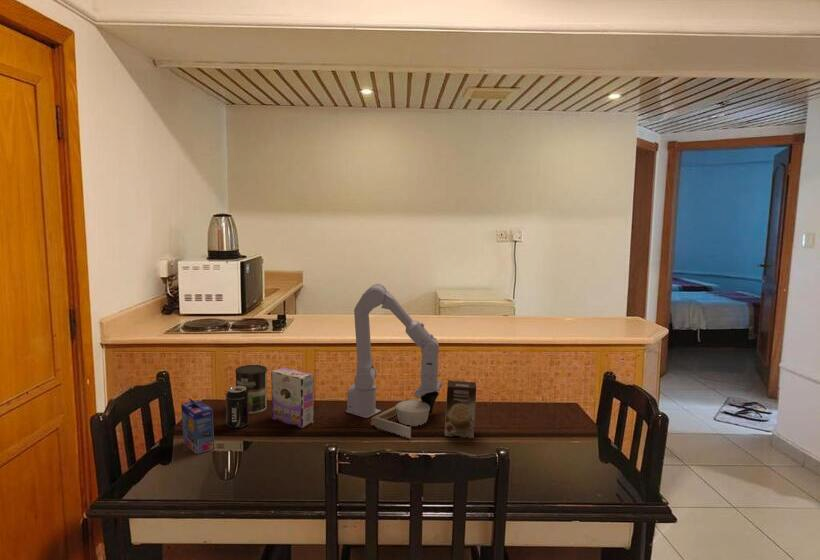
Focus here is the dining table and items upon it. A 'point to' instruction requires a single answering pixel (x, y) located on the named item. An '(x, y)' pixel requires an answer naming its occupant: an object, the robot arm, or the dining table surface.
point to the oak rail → (385, 415)
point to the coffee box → (460, 409)
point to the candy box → (292, 397)
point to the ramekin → (412, 412)
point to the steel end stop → (393, 427)
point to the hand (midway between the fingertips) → (428, 412)
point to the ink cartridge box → (197, 426)
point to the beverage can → (237, 407)
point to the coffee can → (253, 385)
